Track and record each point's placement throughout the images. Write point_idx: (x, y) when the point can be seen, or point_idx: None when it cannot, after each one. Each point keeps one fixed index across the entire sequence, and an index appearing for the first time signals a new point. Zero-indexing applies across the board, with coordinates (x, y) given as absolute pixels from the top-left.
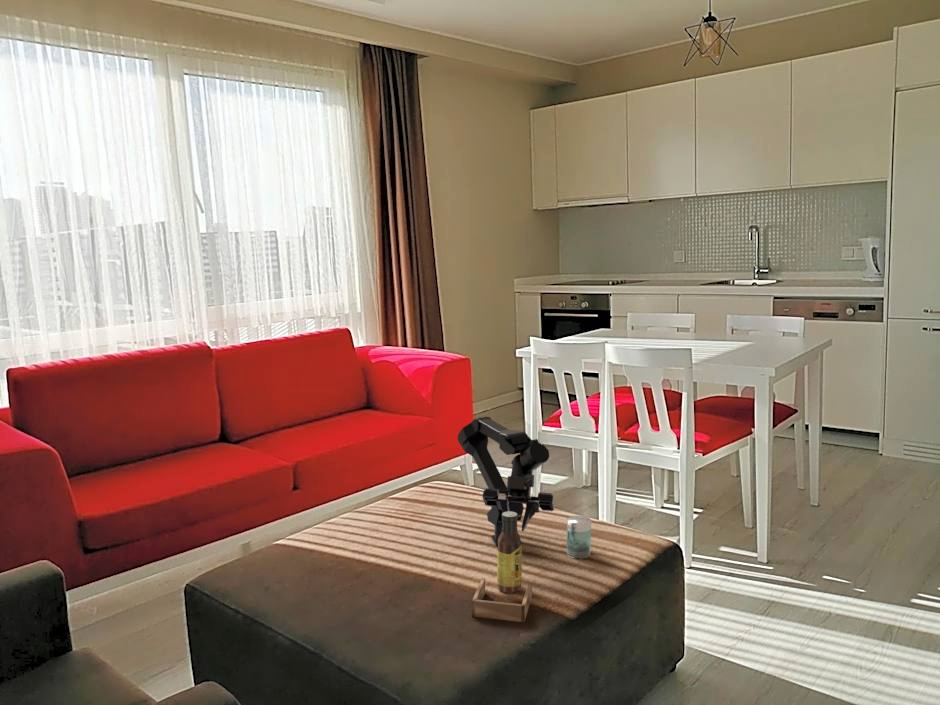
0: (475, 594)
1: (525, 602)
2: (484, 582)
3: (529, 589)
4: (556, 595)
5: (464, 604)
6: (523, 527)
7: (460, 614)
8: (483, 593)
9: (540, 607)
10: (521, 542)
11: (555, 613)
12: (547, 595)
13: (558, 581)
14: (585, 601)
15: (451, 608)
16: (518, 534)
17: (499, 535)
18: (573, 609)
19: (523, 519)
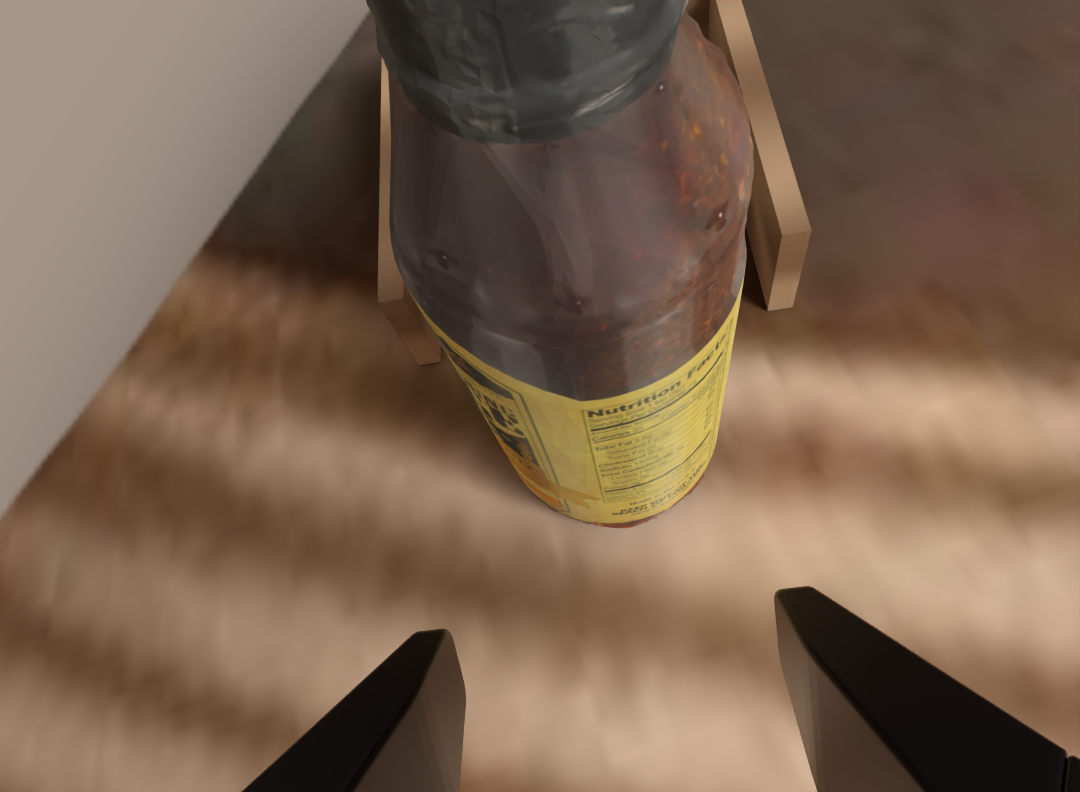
0: (741, 24)
1: (383, 69)
2: (773, 228)
3: (381, 211)
4: (252, 461)
5: (835, 141)
6: (402, 646)
7: (799, 49)
8: (756, 241)
9: (346, 281)
10: (393, 242)
11: (253, 253)
12: (315, 439)
13: (240, 700)
14: (63, 450)
15: (890, 77)
16: (391, 123)
17: (721, 51)
18: (147, 330)
19: (360, 766)
